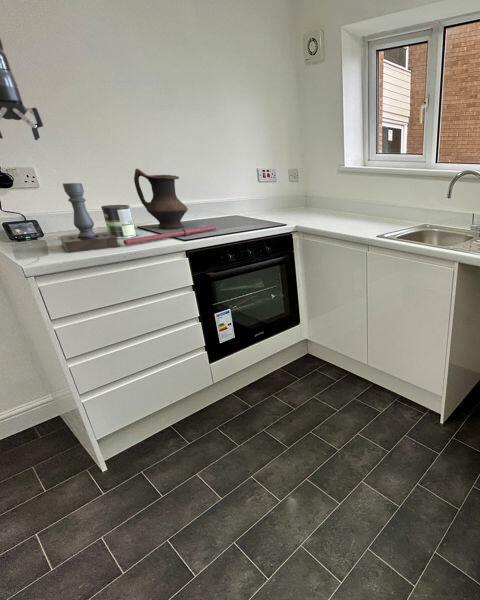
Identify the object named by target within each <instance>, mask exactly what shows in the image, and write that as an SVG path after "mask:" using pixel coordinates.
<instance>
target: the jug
mask: <svg viewBox="0 0 480 600" xmlns="http://www.w3.org/2000/svg"><path fill="white" fill-rule="evenodd" d="M140 177H142V178H145V179H146V180H147V181H148V182H149V184H150V186H151V192H152V198H151V200H150V201H149V202H148V201H146V200H145V196H144V193H143V190H142V188H141V185H140ZM179 179H180V177H179V176H177V175H172V174H146V173H145V172H144V171H142V170H141V169H140V168H135V169H134V176H133V182H134V187H135V189H136V193H137V195H138V197H139V200H140V202H141V204H142V205H143V207H144V208H145V209H146V211H147V213H149V214H150V215H151V216H152V217H153V218H154V219H156V220H157V222H158V223H159V224H158V228H159V229H163V230H176V229H180V228H183V223H182V222H181V221H182V219H183V217H184V216H185V214H186V213H187V212H188V207H187V205H185V204H184V203H183V201H181V200H180V199H179V198H178V197H177V193H176V183H175V182H176V181H175V180H179Z"/></svg>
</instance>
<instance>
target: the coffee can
mask: <svg viewBox="0 0 480 600" xmlns="http://www.w3.org/2000/svg"><path fill="white" fill-rule="evenodd" d="M100 208H101V210H102V214H103V217H104V221H105V222H104V223H105V225H106V229H107V232H109V233H111V234H112V235H114V236H115V237H116V238H117V240H119V239H122V240H123V239H132V238H136V236H137V233H136V229H135V226H134V221H133V217H132V212H131V209H130V205H128V204H107V205H101V206H100Z"/></svg>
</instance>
